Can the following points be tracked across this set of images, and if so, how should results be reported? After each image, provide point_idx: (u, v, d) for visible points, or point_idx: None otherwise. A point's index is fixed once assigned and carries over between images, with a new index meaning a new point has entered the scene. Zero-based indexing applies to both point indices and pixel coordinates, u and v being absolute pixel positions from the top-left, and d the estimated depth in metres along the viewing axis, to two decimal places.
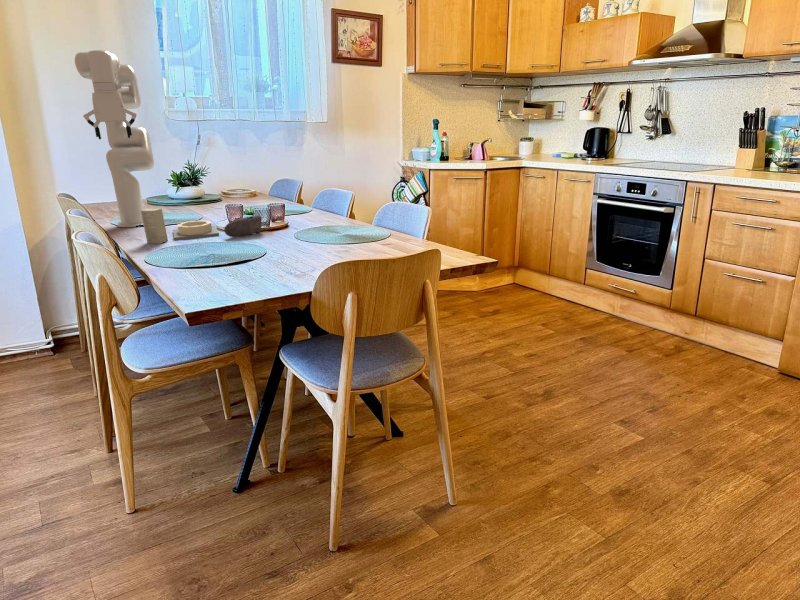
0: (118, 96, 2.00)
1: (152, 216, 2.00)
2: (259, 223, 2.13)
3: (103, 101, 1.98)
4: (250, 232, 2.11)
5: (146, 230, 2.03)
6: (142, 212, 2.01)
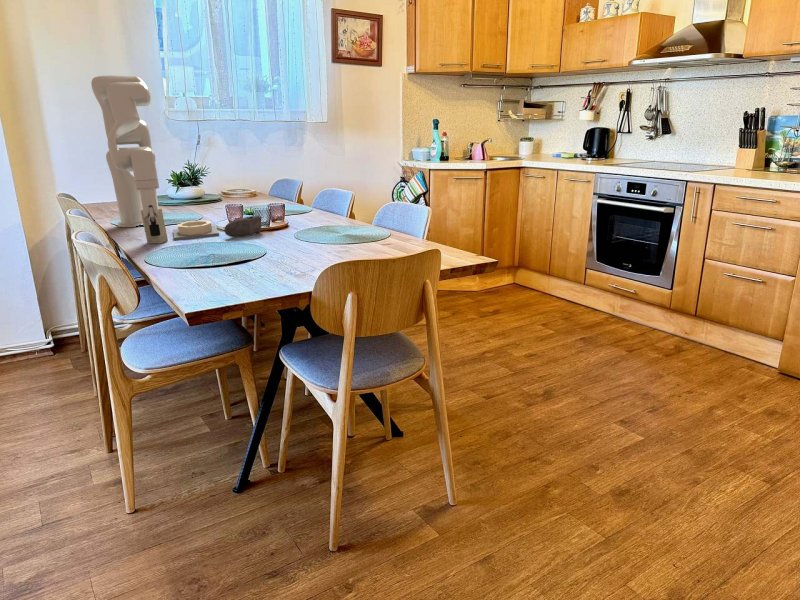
0: None
1: None
2: (259, 223, 2.13)
3: (156, 196, 2.00)
4: (250, 232, 2.11)
5: (146, 229, 2.03)
6: (142, 212, 2.01)
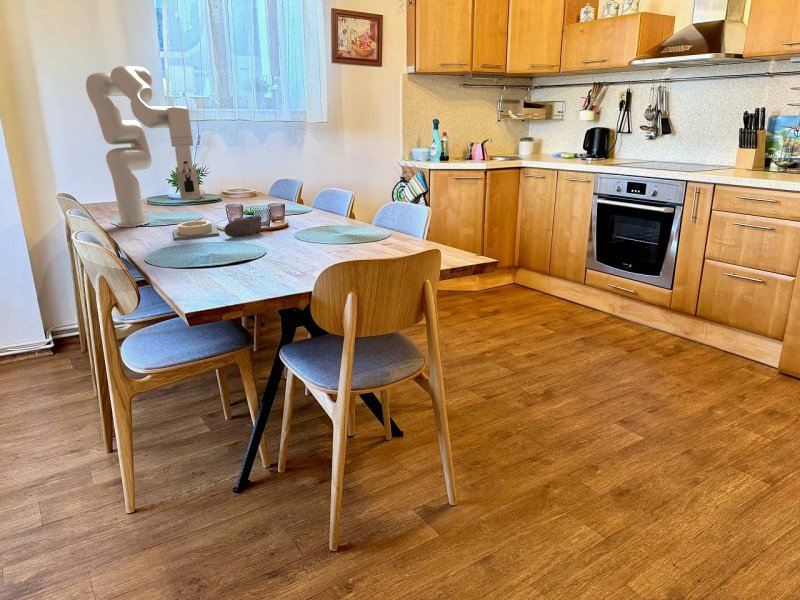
0: None
1: None
2: (259, 223, 2.13)
3: None
4: (250, 232, 2.11)
5: (180, 186, 2.11)
6: (177, 169, 2.09)
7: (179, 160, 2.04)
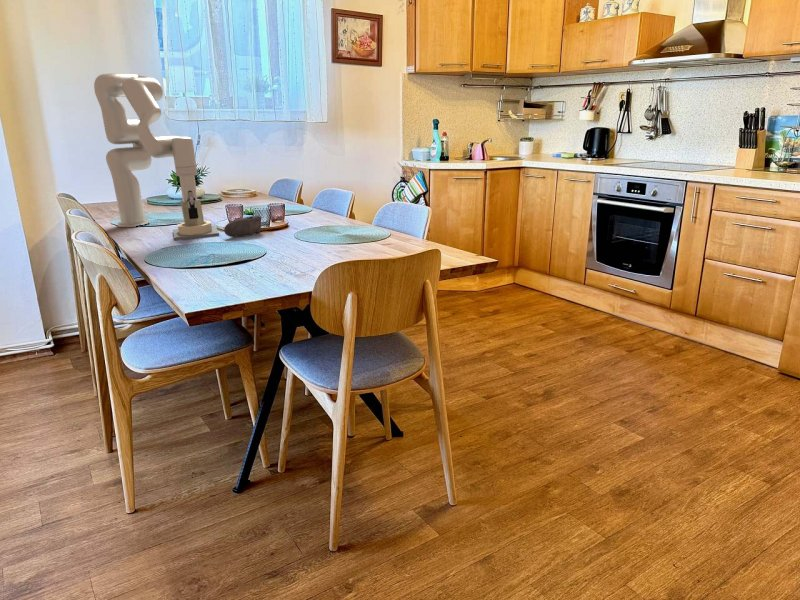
0: None
1: None
2: (259, 223, 2.13)
3: None
4: (250, 232, 2.11)
5: (185, 219, 2.15)
6: (182, 202, 2.13)
7: (184, 189, 2.07)
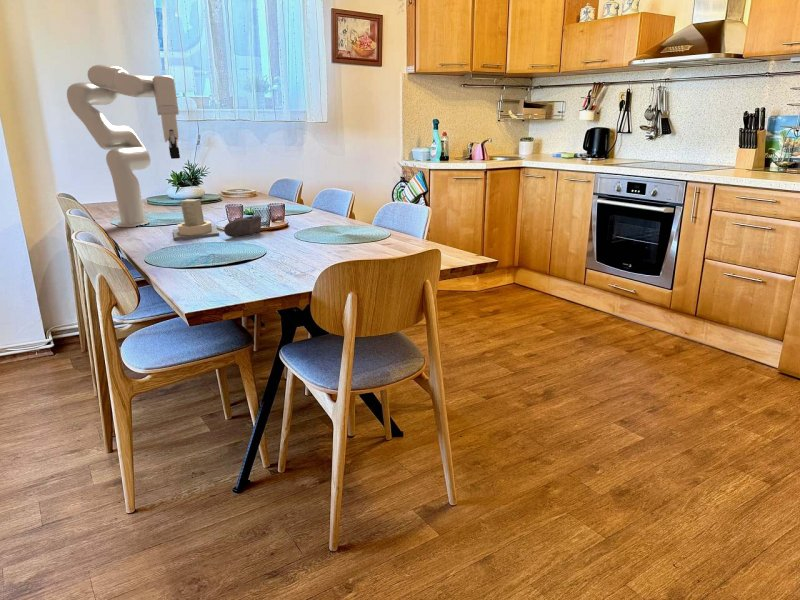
0: None
1: (191, 206, 2.12)
2: (259, 223, 2.13)
3: (176, 122, 2.13)
4: (250, 232, 2.11)
5: (185, 219, 2.15)
6: (182, 202, 2.13)
7: (165, 128, 2.09)
